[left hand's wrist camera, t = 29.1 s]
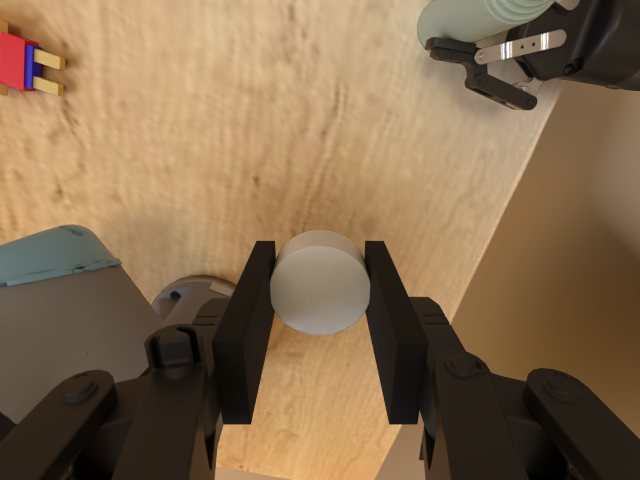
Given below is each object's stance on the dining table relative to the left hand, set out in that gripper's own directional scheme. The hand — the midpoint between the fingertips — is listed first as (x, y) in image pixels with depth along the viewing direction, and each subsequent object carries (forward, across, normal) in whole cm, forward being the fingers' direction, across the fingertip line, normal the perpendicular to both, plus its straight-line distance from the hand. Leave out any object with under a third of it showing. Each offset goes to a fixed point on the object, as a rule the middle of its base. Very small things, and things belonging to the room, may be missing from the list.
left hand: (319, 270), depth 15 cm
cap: (-2, 0, 0) cm, 2 cm away
